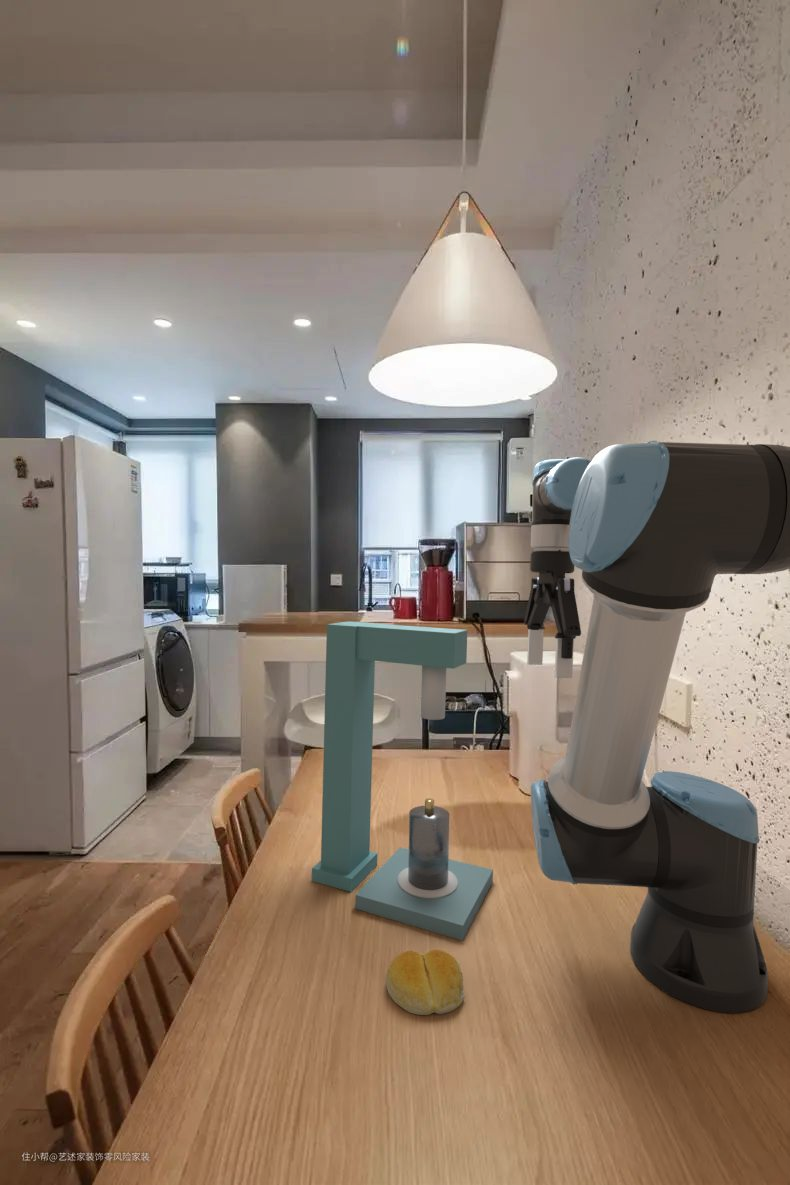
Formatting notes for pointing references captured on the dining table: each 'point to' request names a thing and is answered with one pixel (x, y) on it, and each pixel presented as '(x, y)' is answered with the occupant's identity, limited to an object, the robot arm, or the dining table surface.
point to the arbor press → (352, 773)
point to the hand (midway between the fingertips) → (548, 670)
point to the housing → (428, 846)
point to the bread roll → (425, 982)
